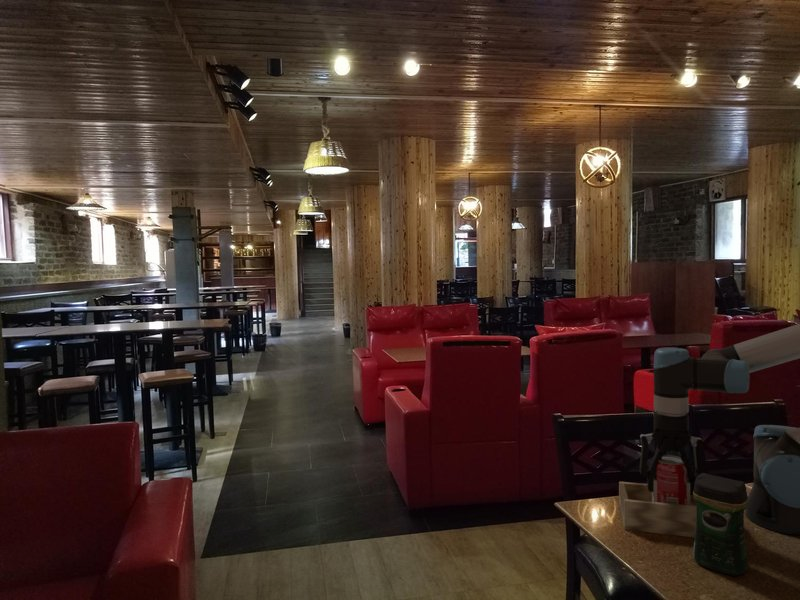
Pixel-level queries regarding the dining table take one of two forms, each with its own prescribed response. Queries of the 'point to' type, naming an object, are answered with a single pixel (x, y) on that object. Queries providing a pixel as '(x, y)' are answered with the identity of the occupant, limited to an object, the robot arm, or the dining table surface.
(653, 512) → the crate
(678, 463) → the soda can
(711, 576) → the dining table surface
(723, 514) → the coffee jar
